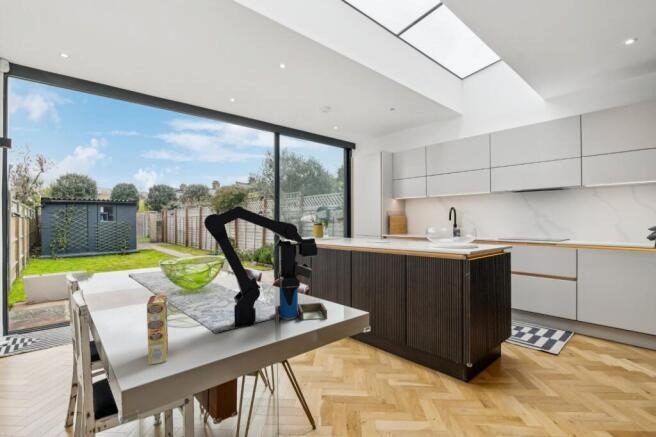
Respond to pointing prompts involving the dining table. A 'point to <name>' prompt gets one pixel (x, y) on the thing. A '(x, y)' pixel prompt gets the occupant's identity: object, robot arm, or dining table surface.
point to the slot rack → (307, 311)
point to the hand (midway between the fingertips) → (288, 301)
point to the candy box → (157, 329)
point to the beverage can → (288, 306)
